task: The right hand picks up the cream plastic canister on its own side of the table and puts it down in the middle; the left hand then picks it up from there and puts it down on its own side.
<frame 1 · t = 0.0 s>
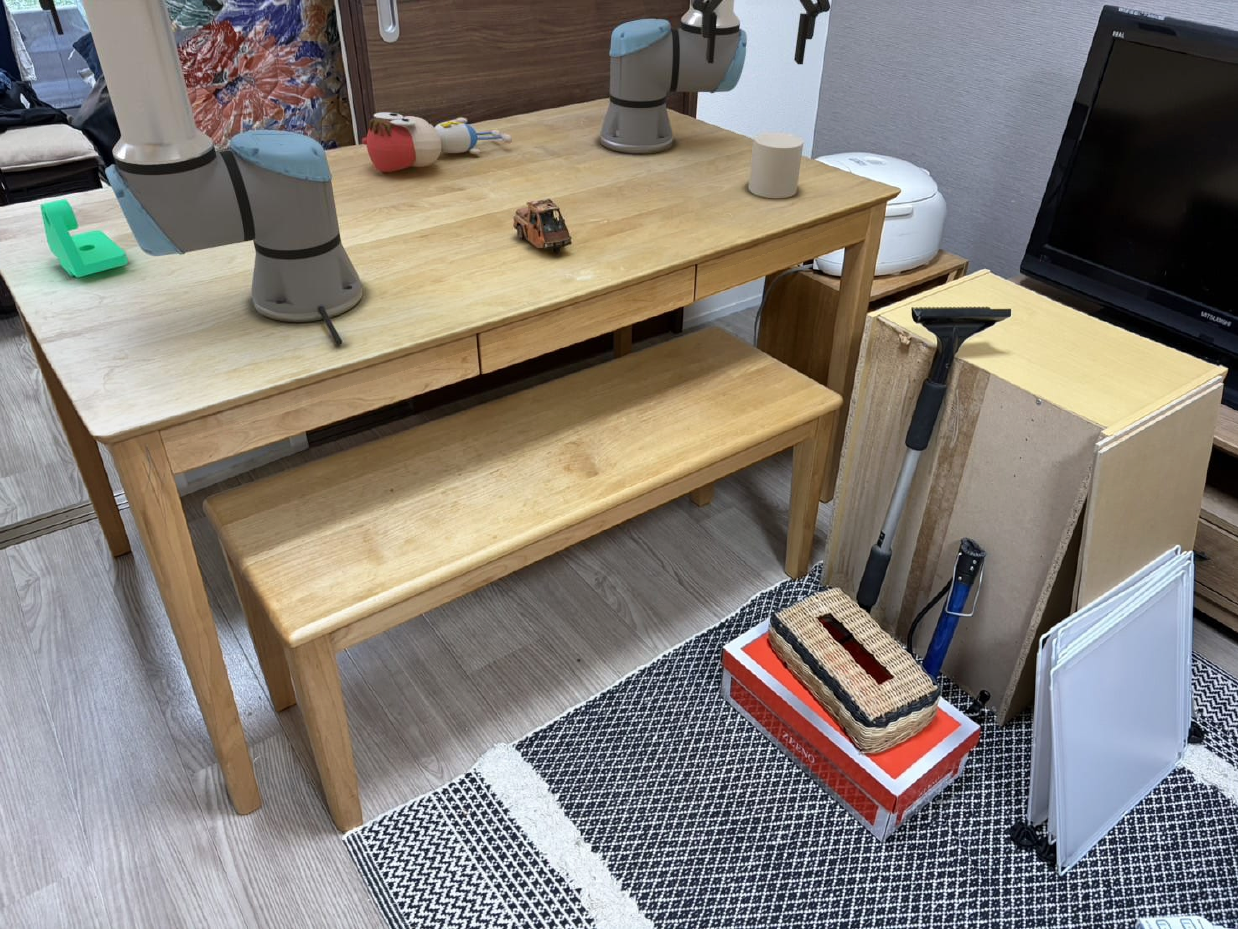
left hand: (108, 29, 146), 28 cm above the table, tool pointing down, fingers open, 13 cm apart
right hand: (754, 61, 140), 28 cm above the table, tool pointing down, fingers open, 13 cm apart
canister: (772, 189, 175), on the table
camera mount: (92, 265, 142), on the table
toy car: (542, 243, 152), on the table
toy: (439, 159, 184), on the table
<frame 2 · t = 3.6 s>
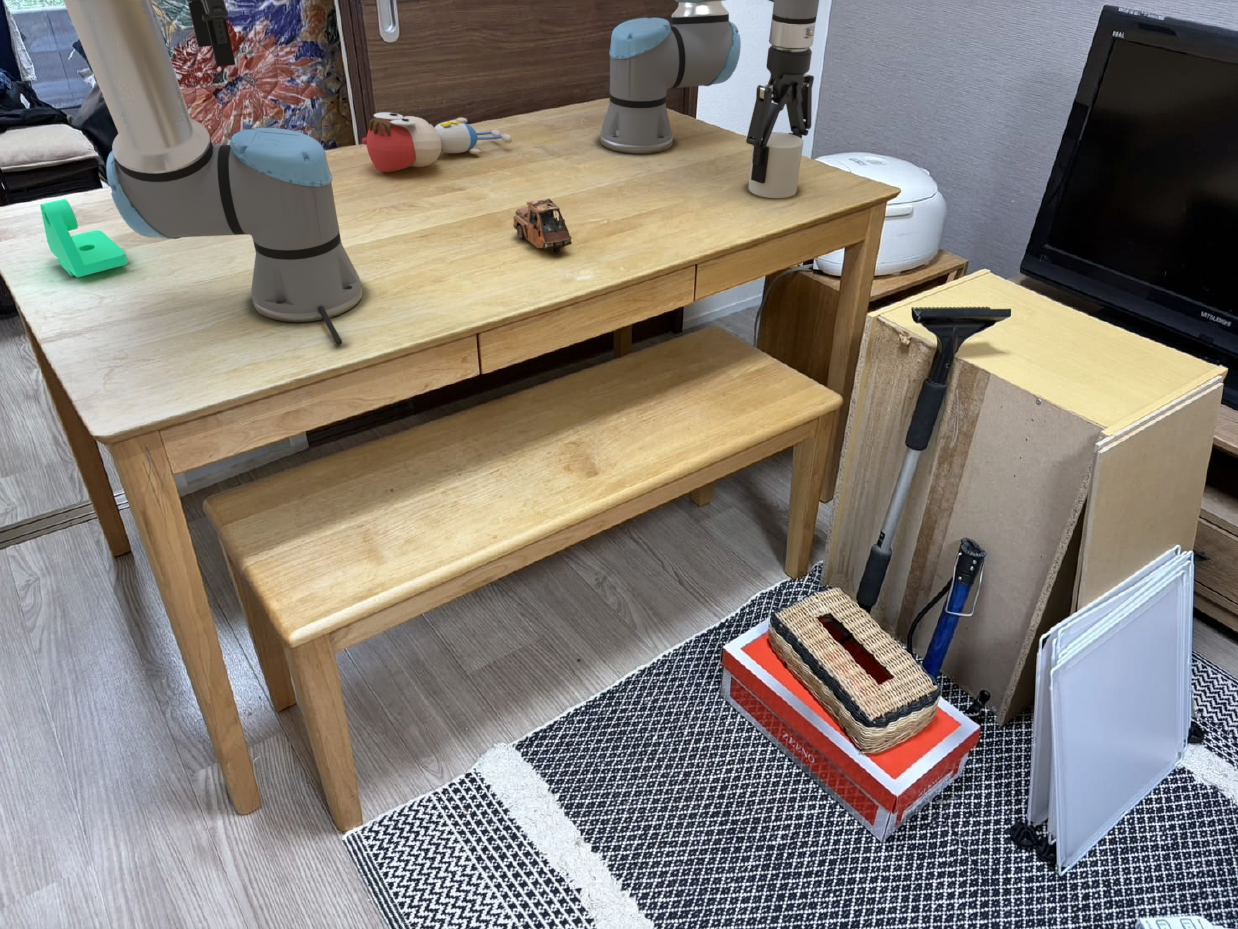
left hand: (216, 55, 147), 25 cm above the table, tool pointing down, fingers open, 13 cm apart
right hand: (774, 175, 173), 3 cm above the table, tool pointing down, fingers closed on canister, 9 cm apart
canister: (772, 189, 175), on the table, touching right hand
everything else where it was.
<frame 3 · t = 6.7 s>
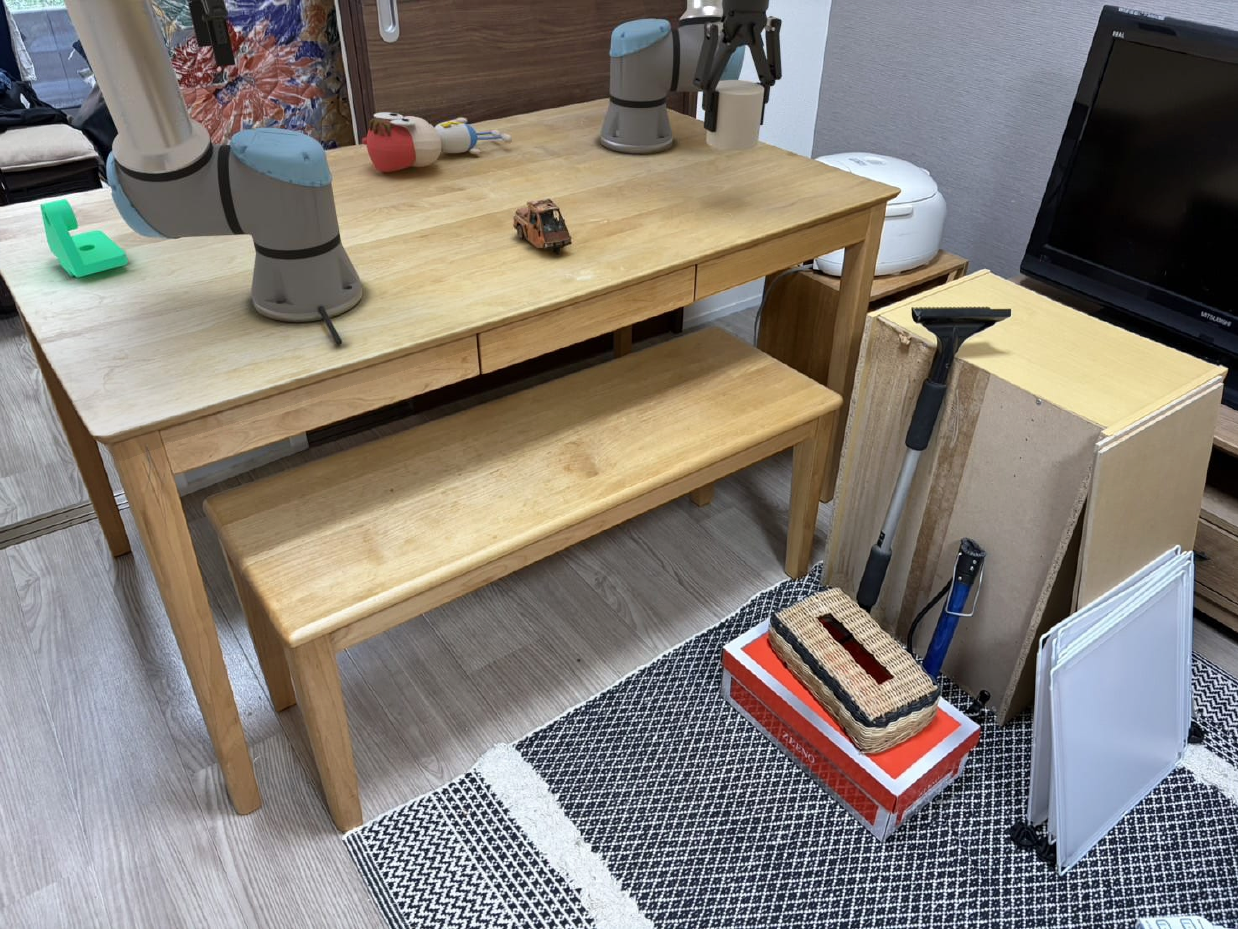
left hand: (216, 55, 147), 25 cm above the table, tool pointing down, fingers open, 13 cm apart
right hand: (733, 126, 161), 14 cm above the table, tool pointing down, fingers closed on canister, 9 cm apart
canister: (732, 142, 162), point 11 cm above the table, touching right hand
everything else where it was.
when the right hand's fingers open (4 cm above the table, at t = 10.2 s): canister drops 1 cm, on the table.
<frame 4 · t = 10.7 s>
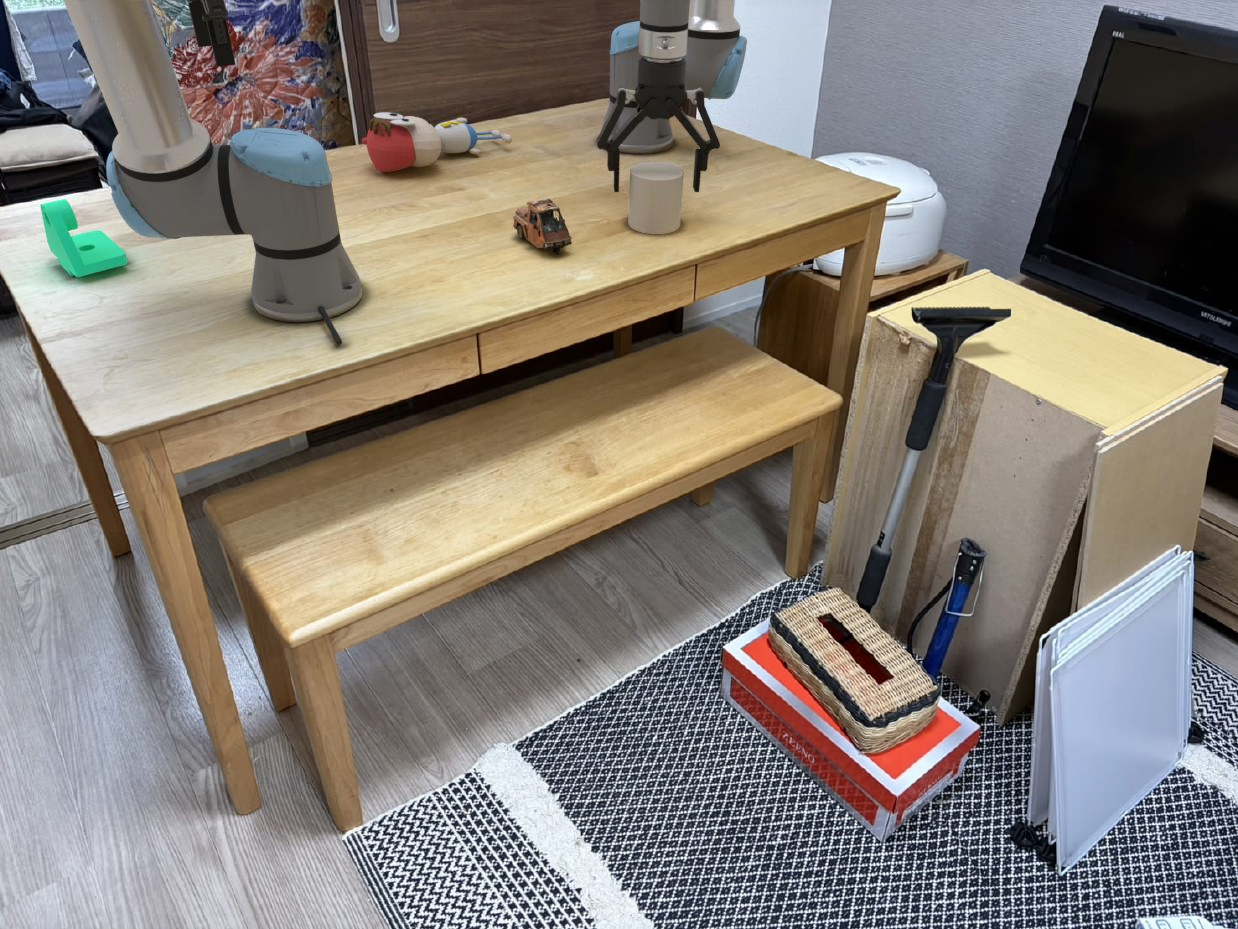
left hand: (216, 55, 147), 25 cm above the table, tool pointing down, fingers open, 13 cm apart
right hand: (656, 189, 157), 6 cm above the table, tool pointing down, fingers open, 13 cm apart
canister: (654, 223, 160), on the table
everything else where it was.
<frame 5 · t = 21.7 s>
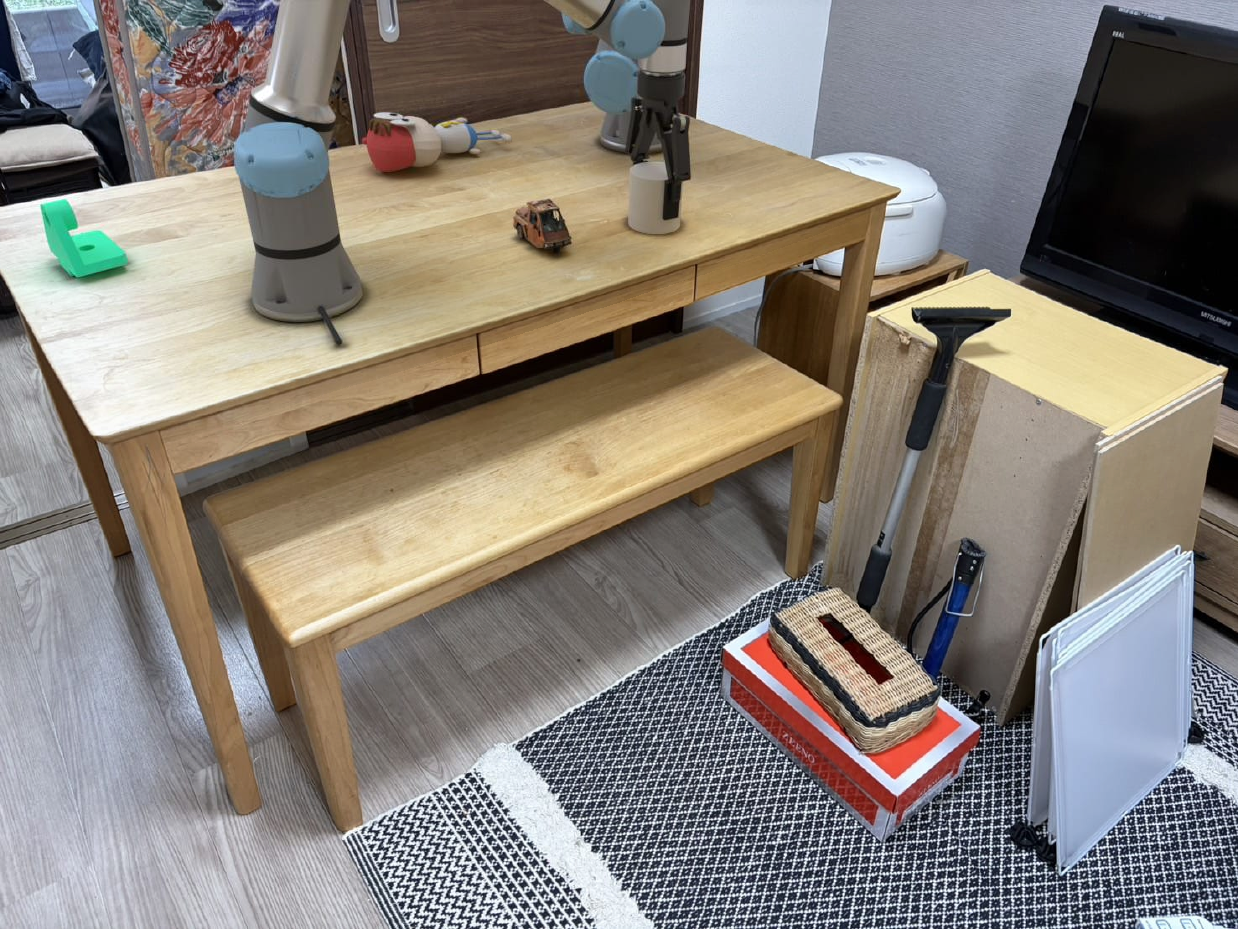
left hand: (654, 208, 159), 3 cm above the table, tool pointing down, fingers closed on canister, 9 cm apart
canister: (654, 223, 160), on the table, touching left hand
everything else where it was.
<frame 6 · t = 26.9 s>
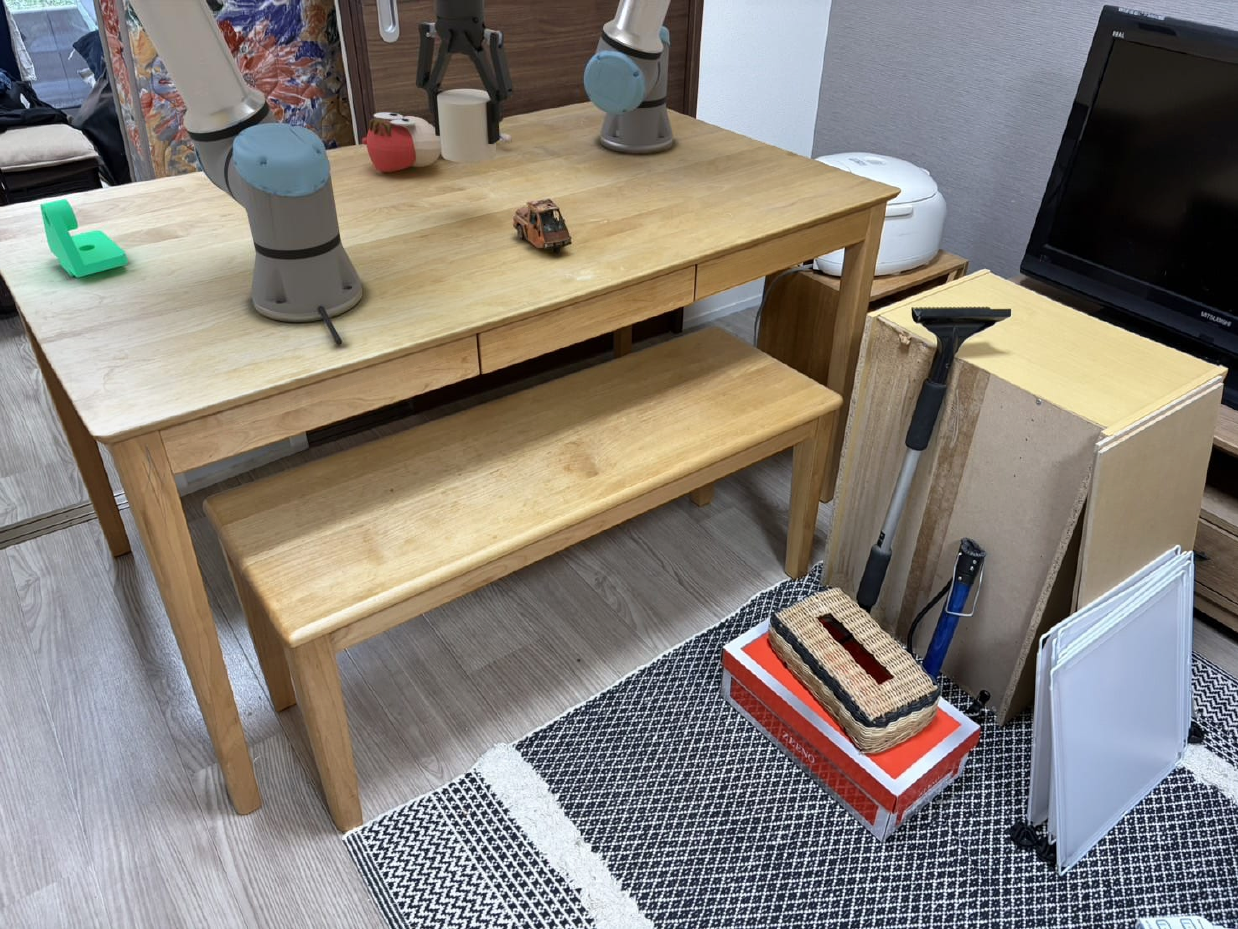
left hand: (467, 137, 153), 13 cm above the table, tool pointing down, fingers closed on canister, 9 cm apart
canister: (469, 154, 155), point 11 cm above the table, touching left hand
everything else where it was.
when the left hand's fingers open (4 cm above the table, at t = 32.5 s): canister drops 1 cm, on the table.
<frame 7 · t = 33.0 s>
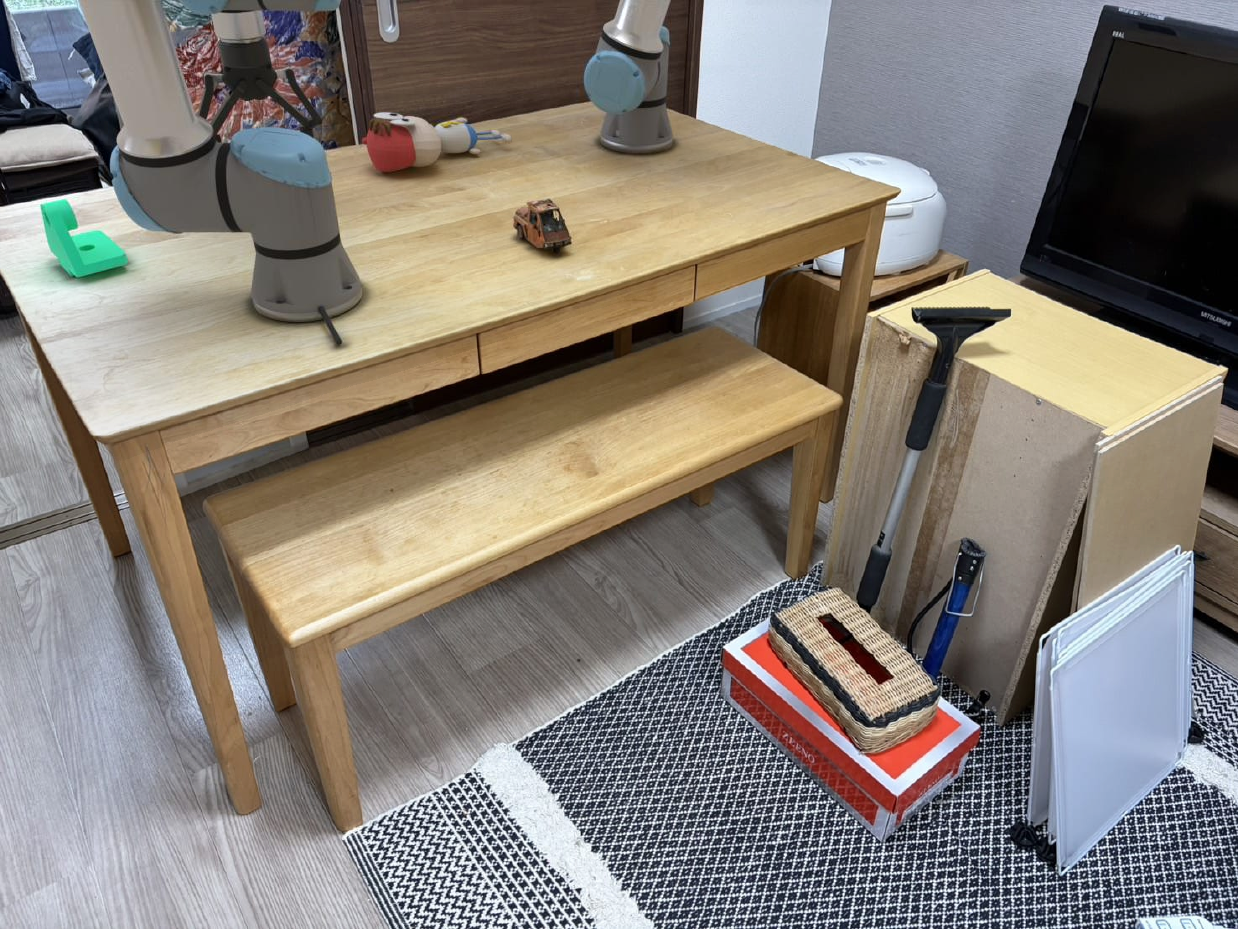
left hand: (268, 171, 159), 6 cm above the table, tool pointing down, fingers open, 13 cm apart
canister: (275, 204, 163), on the table
everything else where it was.
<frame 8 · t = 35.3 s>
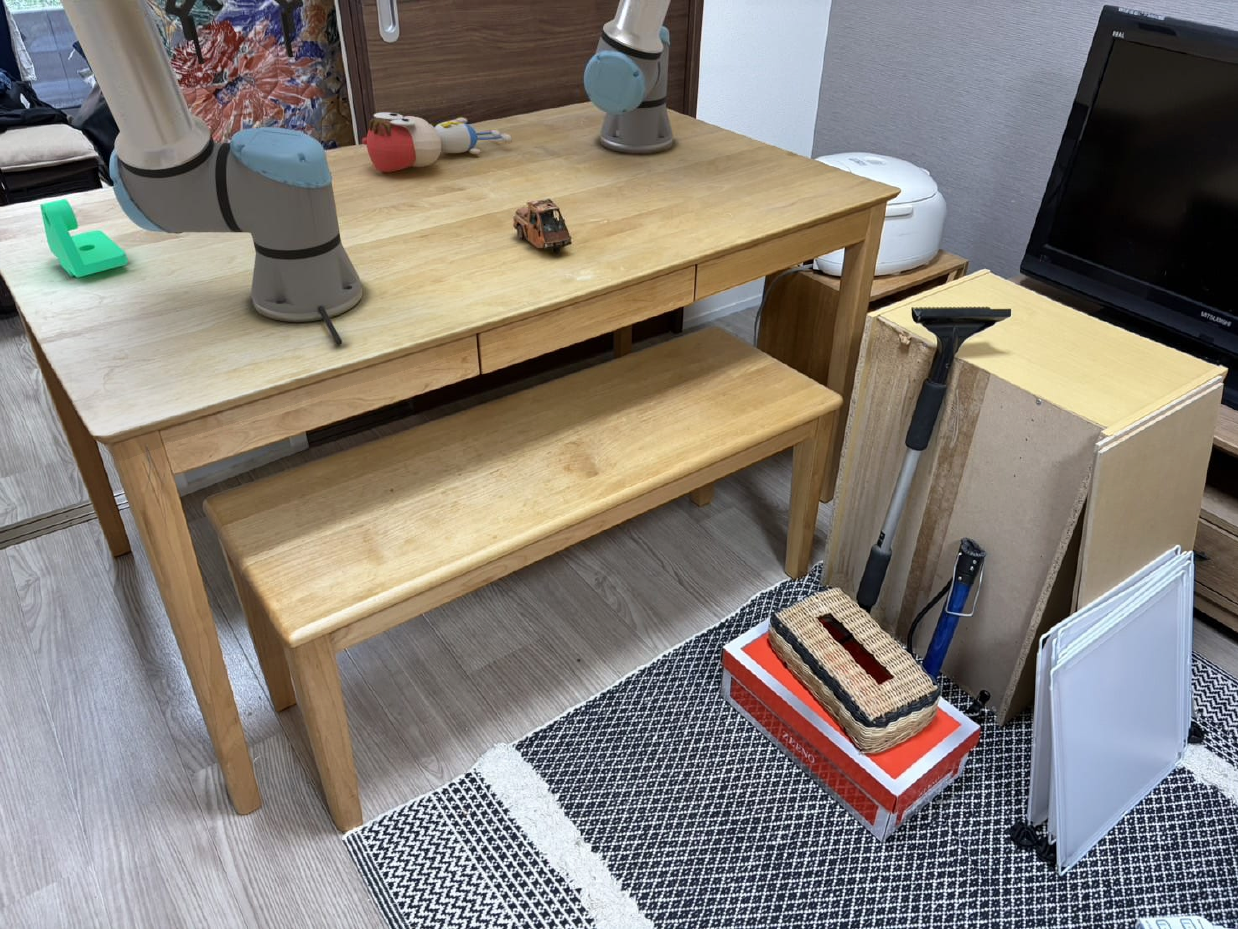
left hand: (246, 58, 148), 24 cm above the table, tool pointing down, fingers open, 13 cm apart
nothing on the table moved.
at the end: canister inside the target area (0.0 cm from its centre), on the table; canister tilted 0°; the two hands never held the canister at the same time; the left hand is holding nothing; the right hand is holding nothing; canister at rest at the end (0.0 cm/s) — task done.
